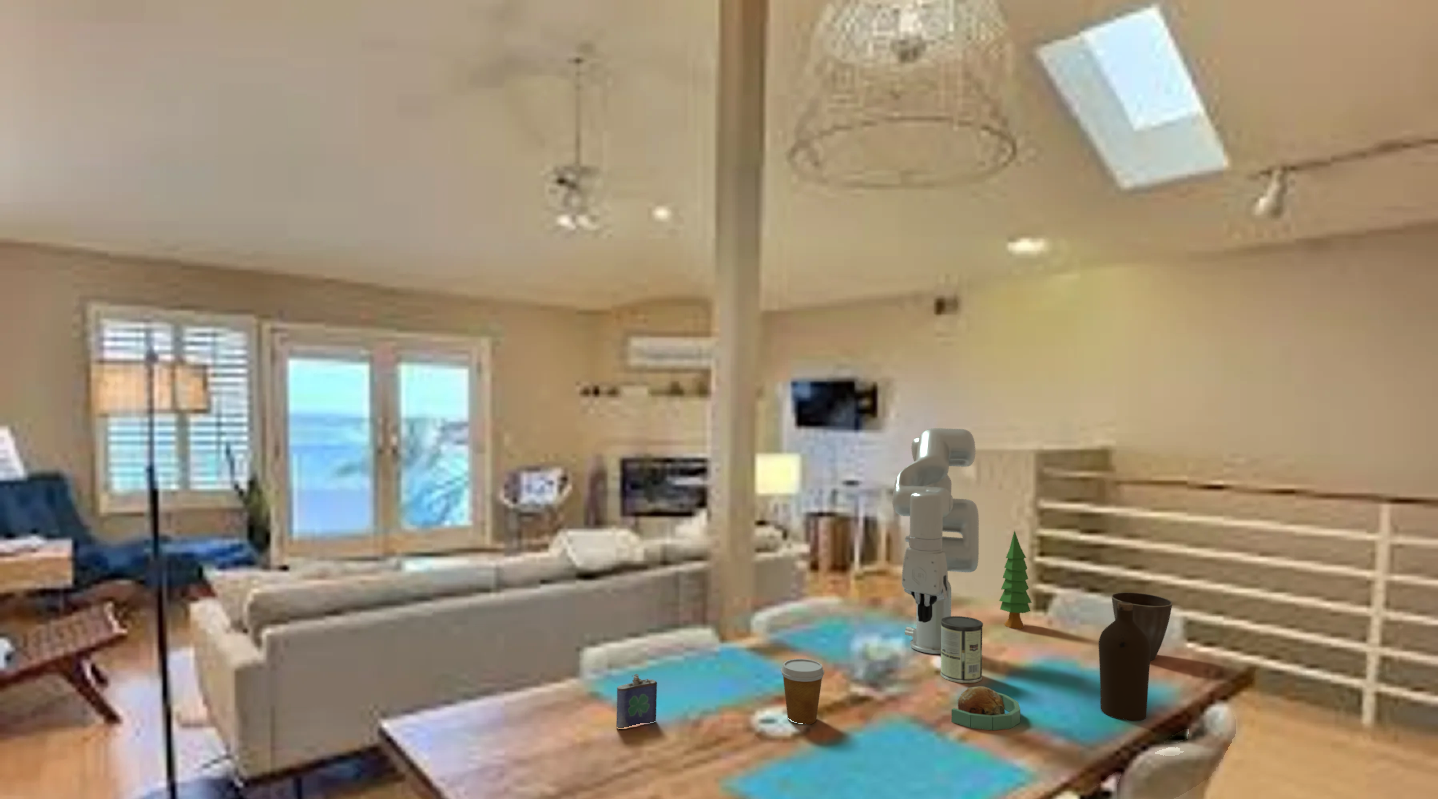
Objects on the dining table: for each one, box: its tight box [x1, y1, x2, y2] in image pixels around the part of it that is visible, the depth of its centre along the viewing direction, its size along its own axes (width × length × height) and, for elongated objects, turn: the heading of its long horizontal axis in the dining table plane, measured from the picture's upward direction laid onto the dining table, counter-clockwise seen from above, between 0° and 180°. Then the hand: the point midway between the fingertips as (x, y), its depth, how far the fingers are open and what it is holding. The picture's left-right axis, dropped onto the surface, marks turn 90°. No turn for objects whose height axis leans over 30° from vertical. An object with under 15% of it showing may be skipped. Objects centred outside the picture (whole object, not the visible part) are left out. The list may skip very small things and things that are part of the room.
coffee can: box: [940, 615, 984, 684], centre depth 209 cm, size 10×10×14 cm
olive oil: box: [1098, 602, 1151, 722], centre depth 186 cm, size 11×11×25 cm
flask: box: [616, 673, 658, 728], centre depth 177 cm, size 9×3×11 cm, turn 121°
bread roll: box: [957, 685, 1006, 715], centre depth 185 cm, size 10×10×8 cm
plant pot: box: [1111, 591, 1173, 661], centre depth 227 cm, size 15×15×16 cm
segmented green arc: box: [950, 691, 1021, 731], centre depth 183 cm, size 11×17×3 cm, turn 136°
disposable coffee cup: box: [780, 658, 825, 725], centre depth 181 cm, size 10×10×12 cm
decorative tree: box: [998, 530, 1032, 630], centre depth 256 cm, size 10×9×30 cm
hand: (924, 620), depth 195 cm, fingers closed
